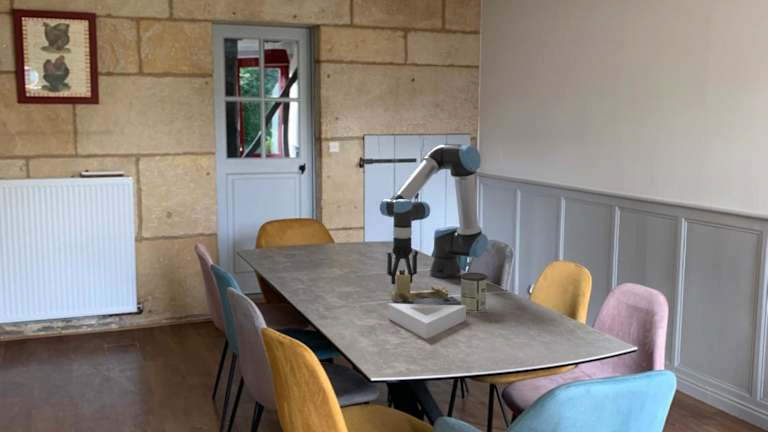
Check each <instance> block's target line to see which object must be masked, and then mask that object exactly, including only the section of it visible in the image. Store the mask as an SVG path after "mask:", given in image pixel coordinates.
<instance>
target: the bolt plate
mask: <svg viewBox="0 0 768 432" xmlns="http://www.w3.org/2000/svg"><path fill="white" fill-rule="evenodd" d="M395 304H427V305H461V300H458V299H457V298H455V297H453V296H452V295H448V300H446V297H440V298H425V299H411V302H409V300H402V299H399V300H396V301H395Z"/></svg>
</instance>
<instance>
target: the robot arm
mask: <svg viewBox="0 0 768 432" xmlns="http://www.w3.org/2000/svg"><path fill="white" fill-rule="evenodd" d="M481 159H482V158H481V154H480V151H479V150H478V148H477V147H476V146H475V145H471V144H467V143H465V144H461V143H460V144H459V143H443V144H440V145H437V146H436V147H434V148H432V149H431V150H430V151H428V152H427V153H425V155H423V157H422V158H421V160H420V163H419V165H418V167H416V169H414V171H413V172H412V173H411V174H410V176H409V177H408V178H407V179H406V180H405V181H404V183H402V185H401V186H400V187H399V188H398V189H397V191H396V192H395V193H394V194H393V196H392V197H391V198H384V199H382V200H381V201H380V204H379V211H380V214H381V215H382V216H385V217H388V218H393V241H392V242H393V248H392V250H390V251H386V252H385V254H386V257H387V258H386V260H387V263H386V266H387V267H386V274H387V275H388V276H389V277H391V280H390V281H391V285H392V286H393V289H392V290H393V293H394V292H397V277H396V272H398V269H399V266H400V265H399V264H400V262H401V260H403V259H404V263H405V266H406V270H407V271H406V272H407V273H408V274H410V284H413V277H414V275H418V274H417V273H418V254H419V251H417V250H416V249H413V247H412V234H413V233H412V232H413V231H412V227H413V226H412V224H413V223H412V222H414V221H422V220H425V219H427V218H428V217H429V216H430V214H431V207H430V205H429V203H428V202H426V201H412V200H414V198H415V197H416V196H417V195H418V194H419V192H420V191H421V190H422V188H424V187H425V185H426V184H427V183H428V181H429V180H430V179H431V178H432V177H433V175H437V174H438V173H439V172H440V171H441V170H450V176H451V177H452V178H453V179H454V185H455V193H456V203H457V204H456V205H457V215H458V225H459V227H458V226H447V227H440V228H436V229H435V230H434V237H433V240H434V241H433V260H432V264H431V265H430V269H429V275H430V276H432V277H433V278H434V277H435V278H441V279H453V278H454V279H455V278H459V277H461V275H462V268H461V265H460V261H459V257H465V258H471V259H480V258H482V256H484V255H485V253H486V251H487V248H488V244H489V239H488V236H487V235H486V234H485V233H483V229H482V227H481V226H480V225H479V223H478V222H479V221H478V211H477V200H476V190H475V180H474V176H475V175H476V174H477V171H478V170H479V168H480V166H481V165H480V164H481ZM410 255H412V256H411V258H412V260H411V259H410ZM393 256H394V263H393ZM410 260H411V261H410ZM392 265H393V266H392Z"/></svg>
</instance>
